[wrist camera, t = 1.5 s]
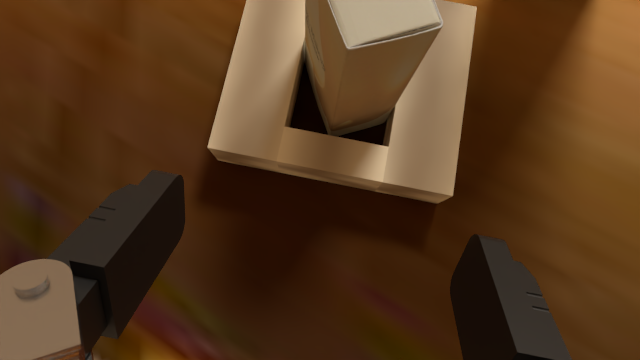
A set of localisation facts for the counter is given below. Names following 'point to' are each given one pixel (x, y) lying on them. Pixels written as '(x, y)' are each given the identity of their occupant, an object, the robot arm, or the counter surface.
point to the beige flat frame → (335, 152)
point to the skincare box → (365, 56)
